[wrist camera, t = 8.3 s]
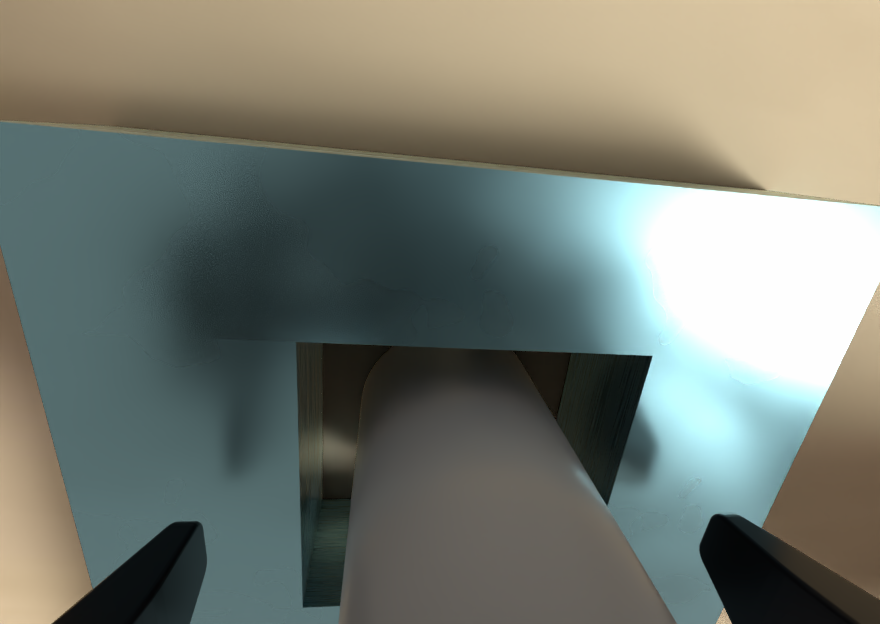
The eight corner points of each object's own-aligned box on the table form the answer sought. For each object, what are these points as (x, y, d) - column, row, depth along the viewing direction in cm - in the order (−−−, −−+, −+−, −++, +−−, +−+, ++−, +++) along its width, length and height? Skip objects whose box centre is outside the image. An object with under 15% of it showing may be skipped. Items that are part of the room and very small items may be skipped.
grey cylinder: (543, 330, 11) (877, 742, 3) (515, 472, 12) (704, 964, 5) (364, 322, 10) (299, 800, 3) (358, 471, 12) (308, 1030, 4)
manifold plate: (768, 190, 10) (913, 209, 7) (574, 739, 18) (608, 849, 15) (109, 125, 8) (-35, 118, 5) (214, 771, 16) (177, 903, 13)
